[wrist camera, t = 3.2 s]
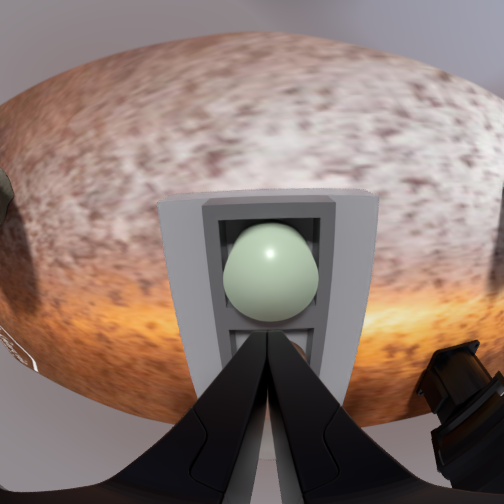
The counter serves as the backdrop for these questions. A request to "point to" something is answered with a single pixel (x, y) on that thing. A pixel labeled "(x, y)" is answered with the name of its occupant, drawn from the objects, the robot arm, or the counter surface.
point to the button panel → (322, 249)
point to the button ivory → (267, 443)
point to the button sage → (270, 271)
